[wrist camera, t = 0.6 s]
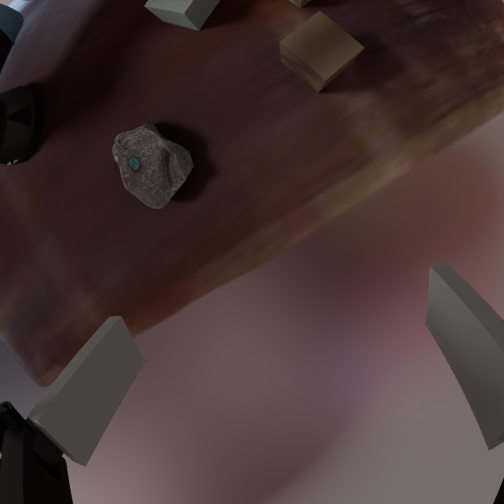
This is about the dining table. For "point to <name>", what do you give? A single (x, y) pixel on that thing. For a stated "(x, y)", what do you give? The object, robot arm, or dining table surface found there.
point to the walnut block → (319, 51)
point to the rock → (151, 164)
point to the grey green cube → (182, 11)
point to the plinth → (300, 2)
